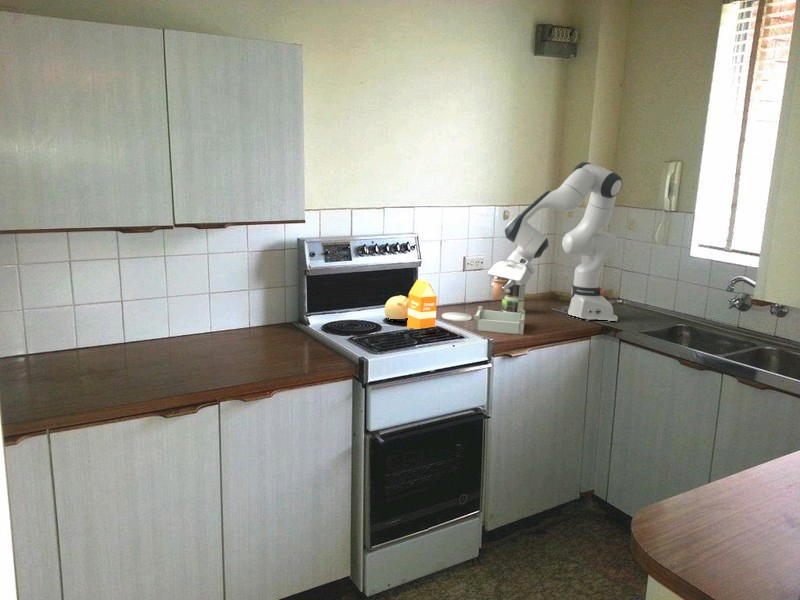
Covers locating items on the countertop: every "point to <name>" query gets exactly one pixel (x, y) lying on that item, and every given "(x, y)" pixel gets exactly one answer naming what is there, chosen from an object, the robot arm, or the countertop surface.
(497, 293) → the terracotta pot
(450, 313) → the saucer
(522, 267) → the robot arm
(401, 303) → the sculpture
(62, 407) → the countertop surface
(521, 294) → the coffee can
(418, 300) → the orange juice
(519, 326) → the green tray
